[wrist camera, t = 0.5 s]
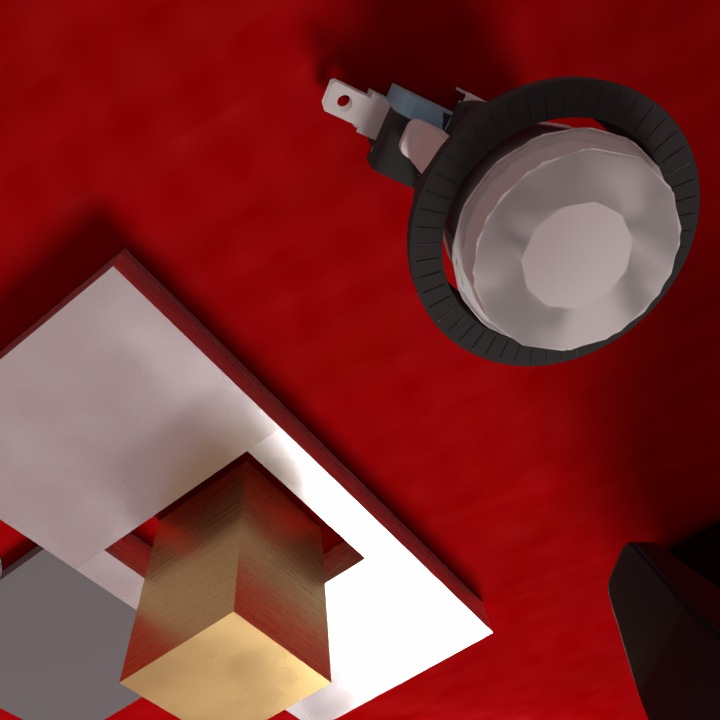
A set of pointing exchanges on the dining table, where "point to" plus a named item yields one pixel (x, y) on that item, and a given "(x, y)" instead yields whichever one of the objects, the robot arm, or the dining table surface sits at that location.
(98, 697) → the pad
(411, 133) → the push button
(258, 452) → the rail
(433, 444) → the dining table surface
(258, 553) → the brass block
